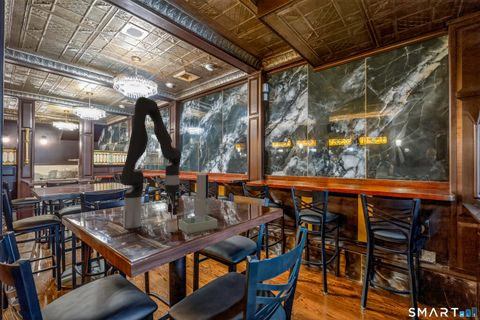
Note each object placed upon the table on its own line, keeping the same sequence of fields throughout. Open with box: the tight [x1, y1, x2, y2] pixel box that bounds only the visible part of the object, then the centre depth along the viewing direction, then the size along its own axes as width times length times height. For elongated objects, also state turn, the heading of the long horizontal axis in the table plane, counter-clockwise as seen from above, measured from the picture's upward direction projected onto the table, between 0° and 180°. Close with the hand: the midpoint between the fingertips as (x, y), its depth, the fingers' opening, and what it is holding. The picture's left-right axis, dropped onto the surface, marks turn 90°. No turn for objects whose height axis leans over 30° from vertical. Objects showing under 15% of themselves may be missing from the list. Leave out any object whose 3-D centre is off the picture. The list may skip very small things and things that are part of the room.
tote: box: [178, 215, 219, 235], centre depth 124 cm, size 18×13×5 cm
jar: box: [166, 217, 178, 233], centre depth 118 cm, size 5×5×7 cm
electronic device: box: [193, 173, 210, 216], centre depth 157 cm, size 12×8×30 cm, turn 168°
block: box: [190, 215, 205, 224], centre depth 124 cm, size 6×6×6 cm
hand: (172, 213), depth 118 cm, fingers open, 8 cm apart
